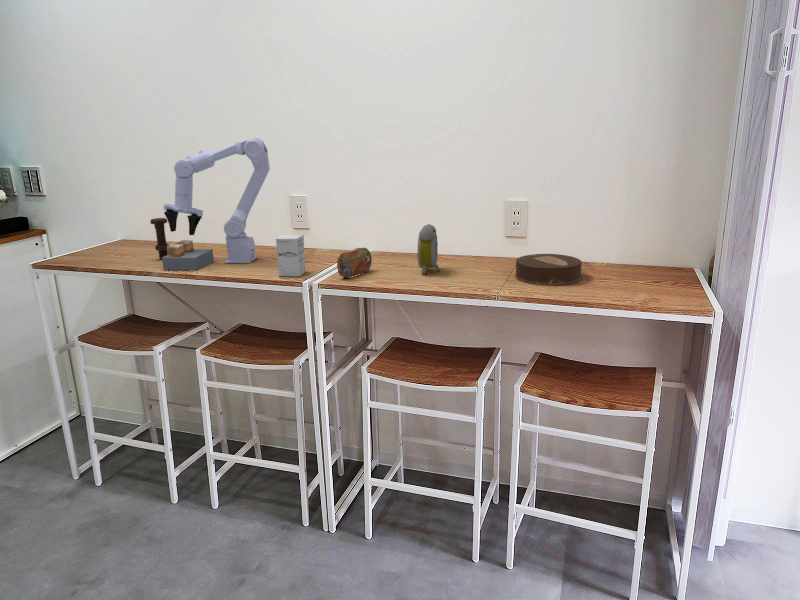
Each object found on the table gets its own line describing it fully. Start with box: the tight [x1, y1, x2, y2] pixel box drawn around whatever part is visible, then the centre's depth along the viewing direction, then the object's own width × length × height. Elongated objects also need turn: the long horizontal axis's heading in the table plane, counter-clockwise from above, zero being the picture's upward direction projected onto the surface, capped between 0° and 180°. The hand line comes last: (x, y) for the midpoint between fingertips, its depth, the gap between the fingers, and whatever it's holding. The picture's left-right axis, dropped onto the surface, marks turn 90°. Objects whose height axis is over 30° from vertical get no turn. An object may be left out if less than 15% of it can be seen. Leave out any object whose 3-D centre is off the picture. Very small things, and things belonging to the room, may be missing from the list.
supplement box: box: [275, 234, 306, 277], centre depth 207 cm, size 7×7×13 cm
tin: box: [336, 247, 372, 279], centre depth 204 cm, size 15×3×8 cm, turn 145°
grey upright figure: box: [417, 223, 441, 276], centre depth 204 cm, size 12×7×15 cm, turn 171°
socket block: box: [161, 248, 215, 271], centre depth 223 cm, size 12×14×4 cm
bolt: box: [149, 217, 170, 260], centre depth 234 cm, size 6×5×15 cm
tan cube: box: [167, 243, 185, 257], centre depth 219 cm, size 4×4×4 cm
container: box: [514, 253, 583, 287], centre depth 195 cm, size 20×20×6 cm
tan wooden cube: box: [176, 239, 195, 253], centre depth 226 cm, size 4×4×4 cm
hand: (182, 233), depth 225 cm, fingers open, 7 cm apart
